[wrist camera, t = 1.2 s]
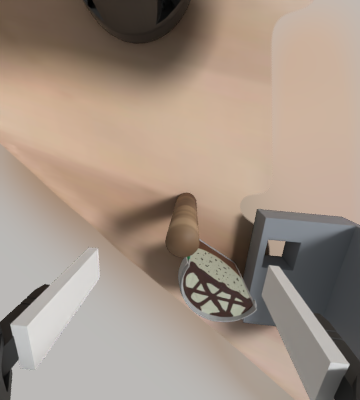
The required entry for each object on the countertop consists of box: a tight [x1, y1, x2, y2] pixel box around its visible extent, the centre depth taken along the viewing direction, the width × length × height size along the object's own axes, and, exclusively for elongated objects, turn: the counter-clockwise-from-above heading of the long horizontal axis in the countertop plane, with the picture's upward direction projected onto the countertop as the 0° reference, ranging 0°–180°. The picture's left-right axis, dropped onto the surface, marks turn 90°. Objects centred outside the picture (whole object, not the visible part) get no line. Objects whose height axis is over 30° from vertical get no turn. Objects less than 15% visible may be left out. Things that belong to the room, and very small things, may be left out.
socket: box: [242, 209, 360, 361], centre depth 27 cm, size 20×14×16 cm
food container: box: [178, 239, 257, 322], centre depth 30 cm, size 12×6×10 cm, turn 55°
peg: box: [165, 193, 199, 257], centre depth 26 cm, size 3×3×14 cm
